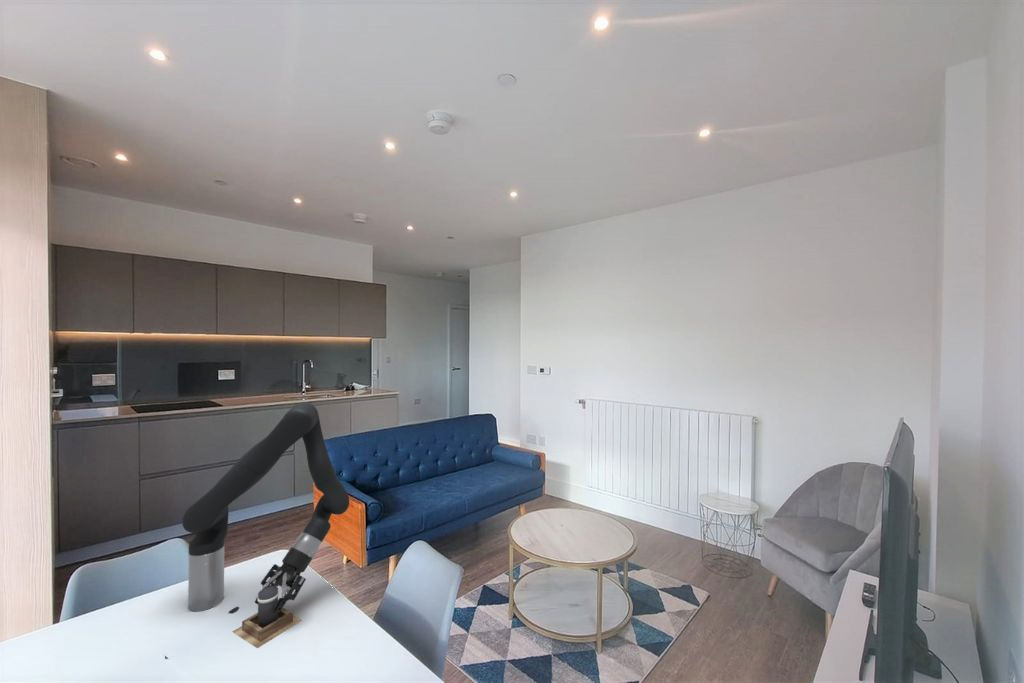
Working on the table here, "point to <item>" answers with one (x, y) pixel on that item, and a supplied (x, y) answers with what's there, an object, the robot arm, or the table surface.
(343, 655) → the table surface
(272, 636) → the tiered wooden square base
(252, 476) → the robot arm
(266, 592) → the dark grey banded cylinder
